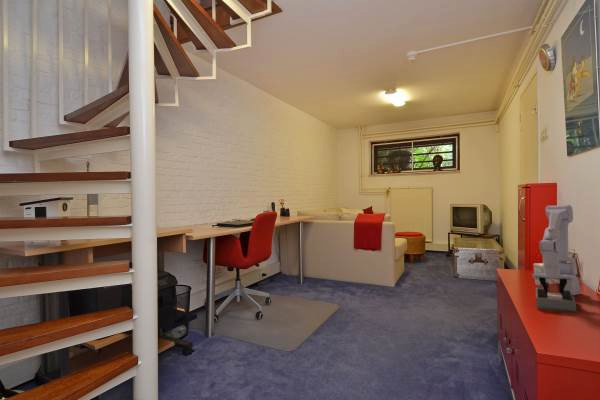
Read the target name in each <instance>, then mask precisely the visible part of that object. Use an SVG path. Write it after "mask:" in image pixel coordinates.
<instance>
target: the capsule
mask: <svg viewBox="0 0 600 400" xmlns="http://www.w3.org/2000/svg"><path fill="white" fill-rule="evenodd" d="M546 287H547V292H551V293H561V291H560V283H556V282H555V281H554V282H546ZM547 297H548V296H547Z"/></svg>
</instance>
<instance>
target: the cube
mask: <svg viewBox="0 0 600 400" xmlns="http://www.w3.org/2000/svg"><path fill="white" fill-rule="evenodd" d="M547 296H548V299H559V300H562V294H561V293H551V292H547Z"/></svg>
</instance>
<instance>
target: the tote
mask: <svg viewBox="0 0 600 400" xmlns="http://www.w3.org/2000/svg"><path fill="white" fill-rule="evenodd" d="M574 296H575V295H573V294H572V291H571V290H564V291H563V296H562V300H559V299H548V297H547V295H546V293H545V290H544V288H543V287H535V300H536V301H535V302H536V309H537V310H541V311H543V310H544V311H549V312H550V311H551V312H561V313H562V312H563V313H568V314H569V313H572V314H577V305H576V304H577V303H576V299H575V297H574Z"/></svg>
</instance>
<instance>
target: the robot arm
mask: <svg viewBox="0 0 600 400" xmlns="http://www.w3.org/2000/svg"><path fill="white" fill-rule="evenodd" d="M545 215H546V217H547V219H548V227H545V229H544V233H543V237H542V240H539V243H538V244H539V250H540V255H541V256H542V263H543V266H544V274H534V273H532V279H535V278H539V281H540V283H541V284H542V286H543V287H542V288H543V289H544V290H545V293H546V295H547V288H546V279H552V280H554V282H556V283H560V291H561V294H562V296H563V291H564V290H571V291H572V294H573V296H576V295H581V294H583V292H581V289H580V280H579V278H578V277H577V273H578V266H577V262H576V260H575V259H574V258H572V256H571V257H570V256H569V223H570V224H571V223H573V219H574V210H573V207H572V205H571V204H567V205H565V204H564V205H563V204H561V205H546V207H545Z"/></svg>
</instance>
